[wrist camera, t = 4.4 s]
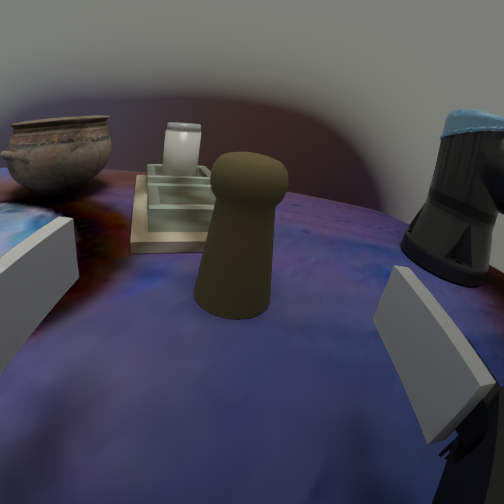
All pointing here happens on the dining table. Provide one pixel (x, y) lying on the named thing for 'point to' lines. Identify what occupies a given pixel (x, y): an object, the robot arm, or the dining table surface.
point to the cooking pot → (58, 153)
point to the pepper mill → (240, 235)
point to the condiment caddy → (171, 212)
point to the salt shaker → (181, 149)
